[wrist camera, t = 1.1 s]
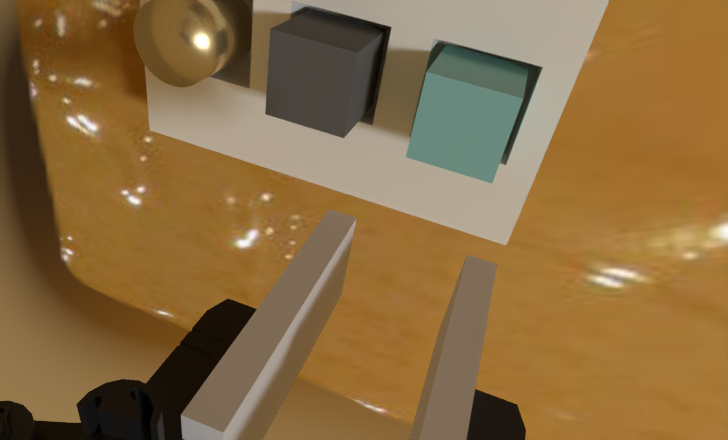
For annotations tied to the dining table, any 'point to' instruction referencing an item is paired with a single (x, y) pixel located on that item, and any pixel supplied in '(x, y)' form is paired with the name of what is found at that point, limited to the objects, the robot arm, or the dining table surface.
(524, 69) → the teal cube
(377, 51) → the dark grey cube
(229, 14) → the gold metal cylinder
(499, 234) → the white slotted tray
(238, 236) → the dining table surface
